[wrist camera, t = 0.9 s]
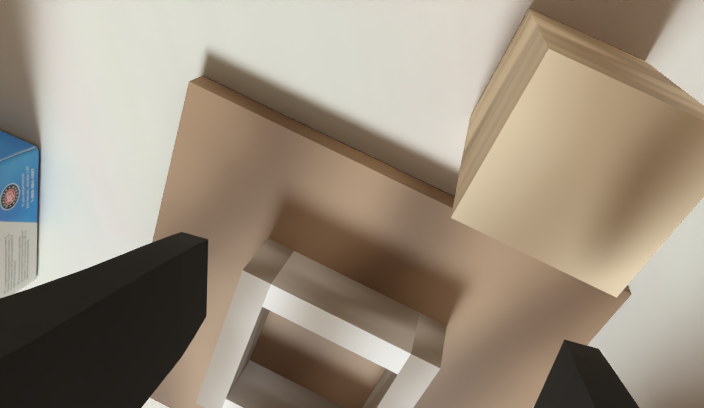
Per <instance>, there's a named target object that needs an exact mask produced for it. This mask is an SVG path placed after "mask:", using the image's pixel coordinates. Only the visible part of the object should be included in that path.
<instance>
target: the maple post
mask: <svg viewBox="0 0 704 408" xmlns="http://www.w3.org/2000/svg"><path fill="white" fill-rule="evenodd" d="M703 197H704V106H703V105H702V104H701V103H699V102H698V101H697V100H695V99H694V98H693V97H691V96H690V95H689V94H687V93H686V92H685V91H684V90H682V89H681V88H680V87H678V86H677V85H676V84H674V83H673V82H672V81H670V80H669V79H668V78H667V77H665V76H664V75H663V74H661V73H660V72H659V71H657V70H656V69H655V68H653V67H652V66H651V65H649V64H648V63H647V62H646V61H644V60H642V59H639V58H637V57H635V56H633V55H631V54H628V53H626V52H624V51H622V50H620V49H617V48H615V47H613V46H611V45H609V44H607V43H604V42H602V41H600V40H598V39H596V38H593V37H591V36H589V35H587V34H585V33H582V32H580V31H578V30H576V29H574V28H572V27H569V26H567V25H565V24H563V23H561V22H558V21H556V20H554V19H552V18H550V17H548V16H545V15H543V14H541V13H539V12H537V11H534V10H532V9H530V8H529V9H528V11H527V13H526V15H525V16H524V18H523V20H522V22H521V24H520V26H519V28H518V29H517V31H516V33H515V35H514V37H513V39H512V41H511V42H510V44H509V46H508V48H507V50H506V52H505V54H504V56H503V57H502V59H501V61H500V63H499V65H498V67H497V69H496V70H495V72H494V74H493V76H492V78H491V80H490V82H489V83H488V85H487V87H486V89H485V91H484V93H483V95H482V96H481V98H480V100H479V102H478V104H477V106H476V108H475V109H474V111H473V113H472V115H471V117H470V120H469V126H468V131H467V136H466V141H465V146H464V152H463V157H462V162H461V167H460V172H459V178H458V183H457V188H456V193H455V199H454V204H453V209H452V214H451V218H452V219H454V220H457V221H459V222H461V223H463V224H465V225H467V226H469V227H471V228H473V229H475V230H477V231H479V232H481V233H483V234H486V235H488V236H490V237H492V238H494V239H496V240H498V241H500V242H502V243H504V244H506V245H508V246H510V247H513V248H515V249H517V250H519V251H521V252H523V253H525V254H527V255H529V256H531V257H533V258H535V259H537V260H539V261H542V262H544V263H546V264H548V265H550V266H552V267H554V268H556V269H558V270H560V271H562V272H564V273H566V274H569V275H571V276H573V277H575V278H577V279H579V280H581V281H583V282H585V283H587V284H589V285H591V286H593V287H596V288H598V289H600V290H602V291H604V292H606V293H608V294H610V295H612V296H614V297H616V298H617V297H618V296H619V294H620V293H621V292H622V291H623V290H624V289H625V287H626V286H627V285H628V284H629V283H630V282H631V280H632V279H633V278H634V277H635V276H636V275H637V273H638V272H639V271H640V270H641V269H642V268H643V266H644V265H645V264H646V263H647V262H648V261H649V260H650V258H651V257H652V256H653V255H654V254H655V253H656V251H657V250H658V249H659V248H660V247H661V246H662V244H663V243H664V242H665V241H666V240H667V239H668V237H669V236H670V235H671V234H672V233H673V232H674V230H675V229H676V228H677V227H678V226H679V225H680V223H681V222H682V221H683V220H684V219H685V218H686V217H687V215H688V214H689V213H690V212H691V211H692V210H693V208H694V207H695V206H696V205H697V204H698V203H699V201H700V200H701V199H702V198H703Z"/></svg>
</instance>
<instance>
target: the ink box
mask: <svg viewBox="0 0 704 408" xmlns="http://www.w3.org/2000/svg"><path fill="white" fill-rule="evenodd" d="M38 166H39V151H38V148H37V147H36V146H34V145H32V144H30V143H28V142H25V141H23V140H21V139H19V138H16V137H14V136H12V135H9V134H7V133H5V132H3V131H0V298H3V297H6V296H9V295H13V294H15V293H16V292H18V291H19V290H21V289H22V288H23V287H25V286H26V285H28V284H29V283H31V282H32V281H34V280H35V279H36V267H37V213H38Z"/></svg>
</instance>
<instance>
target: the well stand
mask: <svg viewBox="0 0 704 408" xmlns="http://www.w3.org/2000/svg"><path fill="white" fill-rule="evenodd" d="M454 199H455V197H454V196H451V195H449V194H447V193H445V192H443V191H441V190H439V189H437V188H435V187H433V186H431V185H429V184H426V183H424V182H422V181H420V180H418V179H416V178H414V177H412V176H410V175H408V174H406V173H404V172H401V171H399V170H397V169H395V168H393V167H391V166H389V165H387V164H385V163H383V162H381V161H379V160H376V159H374V158H372V157H370V156H368V155H366V154H364V153H362V152H360V151H358V150H356V149H354V148H351V147H349V146H347V145H345V144H343V143H341V142H339V141H337V140H335V139H333V138H331V137H329V136H326V135H324V134H322V133H320V132H318V131H316V130H314V129H312V128H310V127H308V126H306V125H303V124H301V123H299V122H297V121H295V120H293V119H291V118H289V117H287V116H285V115H283V114H281V113H278V112H276V111H274V110H272V109H270V108H268V107H266V106H264V105H262V104H260V103H258V102H256V101H253V100H251V99H249V98H247V97H245V96H243V95H241V94H239V93H237V92H235V91H233V90H231V89H228V88H226V87H224V86H222V85H220V84H218V83H216V82H214V81H212V80H210V79H208V78H206V77H203V76H201V77H199V78H196V79H194V80H192V81H189V84H188V89H187V93H186V97H185V102H184V106H183V110H182V115H181V119H180V124H179V128H178V132H177V137H176V141H175V146H174V150H173V154H172V159H171V163H170V167H169V172H168V176H167V181H166V185H165V189H164V194H163V198H162V202H161V207H160V211H159V216H158V220H157V224H156V229H155V233H154V237H153V242H155V241H157V240H160V239H163V238H165V237H168V236H171V235H174V234H177V233H180V232H184V233H188V234H191V235H195V236H198V237H202V238H205V239H208V275H207V316H206V318H205V320H204V321H203V323H202V325H201V326H200V328H199V330H198V332H197V333H196V335H195V337H194V338H193V340H192V342H191V343H190V345H189V346H188V348H187V349H186V351H185V353H184V354H183V356H182V357H181V359H180V360H179V361H178V362H177V364H176V365H175V366H174V368H173V369H172V370H171V371H170V373H169V374H168V375H167V376H166V378H165V379H164V380H163V381H162V383H161V384H160V385H159V386H158V388H157V389H156V390H155V391H154V393H153V394H152V395H151V396H150V398H152V399H154V400H156V401H158V402H160V403H162V404H164V405H166V406H168V407H170V408H532V407H533V406H534V405H535V403H536V401H537V399H538V397H539V395H540V392H541V390H542V388H543V386H544V383H545V381H546V379H547V377H548V375H549V372H550V370H551V368H552V366H553V364H554V361H555V359H556V357H557V355H558V352H559V350H560V348H561V346H562V344H563V341H564V339H565V340H568V341H572V342H576V343H579V344H583V345H587V344H588V343H589V342H590V341H591V340H592V339H593V337H594V336H595V335H596V334H597V333H598V332H599V331H600V329H601V328H602V327H603V326H604V325H605V324H606V323H607V321H608V320H609V319H610V318H611V317H612V316H613V315H614V313H615V312H616V311H617V310H618V309H619V308H620V307H621V306H622V304H623V303H624V302H625V301H626V300H627V299H628V298H629V296H630V295H631V292H630V289H629V287H628V285H627V286H626V287H625V289H624V290H623V291H622V292H621V293H620V294H619V296H618V297H617V298H616V297H614V296H612V295H610V294H608V293H606V292H604V291H602V290H600V289H598V288H596V287H593V286H591V285H589V284H587V283H585V282H583V281H581V280H579V279H577V278H575V277H573V276H571V275H569V274H566V273H564V272H562V271H560V270H558V269H556V268H554V267H552V266H550V265H548V264H546V263H544V262H542V261H539V260H537V259H535V258H533V257H531V256H529V255H527V254H525V253H523V252H521V251H519V250H517V249H515V248H513V247H510V246H508V245H506V244H504V243H502V242H500V241H498V240H496V239H494V238H492V237H490V236H488V235H486V234H483V233H481V232H479V231H477V230H475V229H473V228H471V227H469V226H467V225H465V224H463V223H461V222H459V221H457V220H454V219H452V218H451V214H452V209H453V204H454Z"/></svg>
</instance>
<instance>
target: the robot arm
mask: <svg viewBox="0 0 704 408" xmlns="http://www.w3.org/2000/svg"><path fill="white" fill-rule="evenodd" d="M207 275H208V239H205V238H202V237H198V236H195V235H191V234H188V233H184V232H180V233H177V234H174V235H171V236H168V237H165V238H163V239H160V240H157V241H155V242H152V243H150V244H147V245H145V246H142V247H140V248H137V249H135V250H132V251H130V252H127V253H125V254H122V255H120V256H117V257H115V258H112V259H110V260H107V261H105V262H102V263H100V264H97V265H95V266H92V267H90V268H87V269H84V270H82V271H79V272H76V273H73V274H70V275H68V276H65V277H62V278H59V279H56V280H54V281H51V282H48V283H45V284H42V285H39V286H37V287H34V288H31V289H28V290H25V291H22V292H19V293H16V294H13V295H9V296H6V297H3V298H0V408H141V407H142V406H143V405H144V404H145V402H146V401H147V400H148V399H149V397H150V396H151V395H152V394H153V393H154V391H155V390H156V389H157V388H158V386H159V385H160V384H161V383H162V381H163V380H164V379H165V378H166V376H167V375H168V374H169V373H170V371H171V370H172V369H173V368H174V366H175V365H176V364H177V362H178V361H179V360H180V359H181V357H182V356H183V354H184V353H185V351H186V349H187V348H188V346H189V345H190V343H191V342H192V340H193V338H194V337H195V335H196V333H197V332H198V330H199V328H200V326H201V325H202V323H203V321H204V320H205V318H206V316H207ZM534 408H639V407H638V405H637V404H636V402H635V401H634V399H633V398H632V396H631V395H630V394H629V392H628V391H627V389H626V388H625V386H624V385H623V383H622V382H621V380H620V379H619V377H618V376H617V375H616V373H615V372H614V370H613V369H612V367H611V366H610V364H609V363H608V361H607V360H606V359H605V357H604V356H603V354H602V353H601V352H600V350H599V349H597V348H593V347H590V346H586V345H583V344H579V343H576V342H572V341H568V340H565V339H564V341H563V344H562V346H561V348H560V350H559V352H558V355H557V357H556V359H555V361H554V364H553V366H552V368H551V370H550V372H549V375H548V377H547V379H546V381H545V383H544V386H543V388H542V390H541V392H540V395H539V397H538V399H537V401H536V403H535V406H534Z"/></svg>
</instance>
